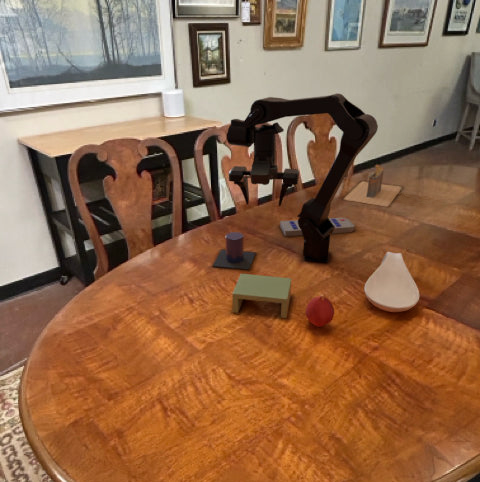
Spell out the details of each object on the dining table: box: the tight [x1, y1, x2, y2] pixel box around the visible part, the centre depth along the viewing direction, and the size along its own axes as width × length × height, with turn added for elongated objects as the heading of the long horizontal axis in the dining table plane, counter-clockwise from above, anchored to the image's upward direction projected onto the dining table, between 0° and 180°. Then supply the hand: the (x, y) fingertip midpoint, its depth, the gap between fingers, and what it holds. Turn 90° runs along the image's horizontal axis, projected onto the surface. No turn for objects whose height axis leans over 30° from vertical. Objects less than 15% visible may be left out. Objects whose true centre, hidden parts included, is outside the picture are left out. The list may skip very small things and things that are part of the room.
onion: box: [305, 294, 335, 328], centre depth 87 cm, size 6×6×8 cm
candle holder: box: [225, 231, 245, 263], centre depth 113 cm, size 5×5×7 cm
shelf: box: [231, 273, 292, 319], centre depth 95 cm, size 12×9×5 cm
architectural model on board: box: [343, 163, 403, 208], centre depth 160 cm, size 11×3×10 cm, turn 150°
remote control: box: [279, 217, 356, 237], centre depth 132 cm, size 8×23×2 cm, turn 96°
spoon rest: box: [363, 251, 420, 313], centre depth 99 cm, size 24×12×7 cm, turn 163°
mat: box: [212, 249, 257, 271], centre depth 115 cm, size 10×10×1 cm
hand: (263, 204), depth 119 cm, fingers open, 9 cm apart
